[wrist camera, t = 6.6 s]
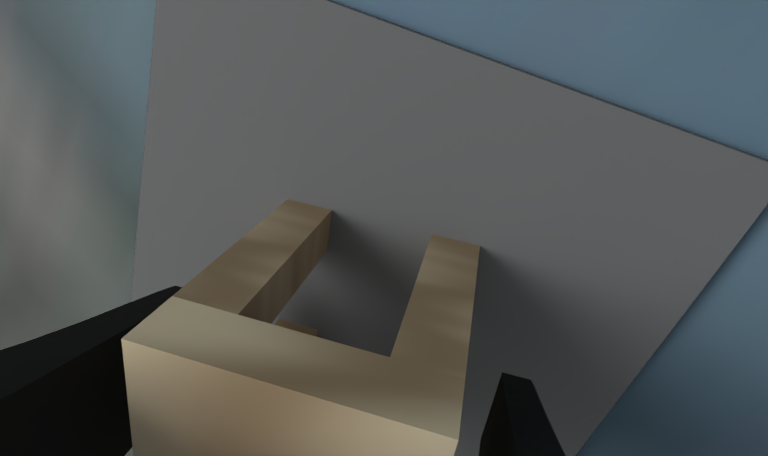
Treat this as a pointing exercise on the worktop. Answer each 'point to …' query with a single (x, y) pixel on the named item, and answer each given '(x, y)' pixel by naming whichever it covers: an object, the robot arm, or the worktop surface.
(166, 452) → the stool
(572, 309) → the mat
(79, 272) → the worktop surface
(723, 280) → the worktop surface
